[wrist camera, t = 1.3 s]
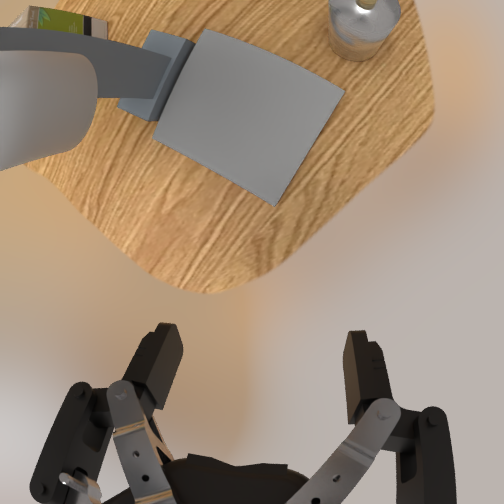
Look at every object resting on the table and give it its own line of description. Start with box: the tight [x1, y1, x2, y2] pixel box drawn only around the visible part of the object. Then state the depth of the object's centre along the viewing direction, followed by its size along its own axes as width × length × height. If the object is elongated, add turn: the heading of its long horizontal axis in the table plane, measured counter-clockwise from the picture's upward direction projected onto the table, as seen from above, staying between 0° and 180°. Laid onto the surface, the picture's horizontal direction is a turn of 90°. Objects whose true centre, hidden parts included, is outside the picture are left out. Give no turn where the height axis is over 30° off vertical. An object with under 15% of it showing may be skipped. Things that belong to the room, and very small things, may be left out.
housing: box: [328, 0, 401, 62], centre depth 16 cm, size 5×5×12 cm
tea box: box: [8, 6, 108, 40], centre depth 22 cm, size 15×10×15 cm
